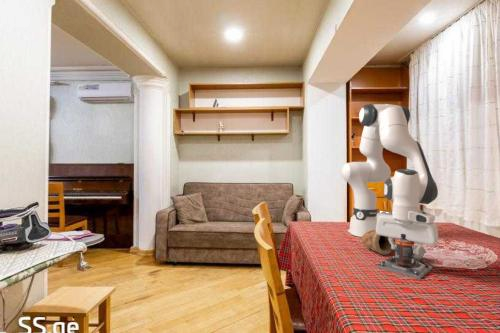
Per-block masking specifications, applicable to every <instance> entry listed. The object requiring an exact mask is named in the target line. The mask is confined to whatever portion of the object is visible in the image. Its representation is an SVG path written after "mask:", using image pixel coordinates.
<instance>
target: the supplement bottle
mask: <svg viewBox="0 0 500 333" xmlns="http://www.w3.org/2000/svg"><path fill="white" fill-rule="evenodd" d="M401 237H402V238H399V239H397V238H395V244H396V250H395V255H394V256H395V261H396V263H397V264H399V265H403V266H412V265H413V264H414V254H413V249H414V247H415V242H413V241H409V240H407V239H406V234H401Z"/></svg>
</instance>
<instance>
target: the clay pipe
mask: <svg viewBox="0 0 500 333" xmlns="http://www.w3.org/2000/svg"><path fill="white" fill-rule="evenodd" d="M360 238H361V239H360V241H361V242H362V244H364V245H365V247H366V248H367V249H370V250H371V251H373V252H376V253H378V254H380V255H383V256H388V255H389V254H391V253H392V252H393V251H394V250H393V249H391V244H390V242H389V240H388V237H387V236H382V235H378V234H377V233H376V230H371V231H367V232H366V233H365V234H364V235H363V236H362V237H360ZM393 241H394V243H395V244H396V238H394V239H393Z"/></svg>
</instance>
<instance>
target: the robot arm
mask: <svg viewBox="0 0 500 333" xmlns="http://www.w3.org/2000/svg"><path fill="white" fill-rule="evenodd" d="M358 119H359V124H360V125H362V126H363V130H362V132H361V133H362V134H361V138H360V143H359V148H358V149H359V152H360V153H361V154H362V155H363V156H364V157H366V161H351V162H346V163H345V164H343V165H342V168H341V176H342V179H344V181H346V182H347V183H348V184H349V186H350V187H351V189H352V192H353V193H352V194H353V201H354V203H353V209H352V216H351V217H350V224H349V228H348V229H347V232H348V233H349V234H350V235H353V236H356V237H358V238H359V237H360V238H361V237H362V236H363V235H364V234H365V233H366V232H367V231H371V230H376V233H377V234H378V235H382V236H387V237H388V240H389V242H390V244H391V249H393V251H396V242H395V243H394V241H393V239H394V238H395V239H399V238H402V237H401V234H406V239H407V240H409V241H413V242H414V243H416V246H418V247H417V248H414V249H413V254H416V255H418V254H419V249H420V248H421V247H423V245H424V244H425V245H430V246H435V245H436V244H438V243H439V230H438V225H437V224H436V223H435V222H434V221H436V216H435V215H434V214H431V213H429V212H426V211H424V210H422V209H421V204H422V205H423V204H424V205H429V204H431V203H432V202H434V201H435V200H436V199H437V198H438V195H439V192H438V191H439V190H438V186H437V183H436V181H435V180H434V178H433V175H432V174H431V170H430V168H429V164H428V163H427V159H426V156H425V154H424V150H423V148H422V146H421V144H420V142H418V141H417V140H415V139H414V138H413V137H412V135H411V134H410V131H409V126H408V125H409V122H410V119H411V112H410V109H409V107H407V106H405V105H397V104H389V103H384V104H383V103H381V104H380V103H375V104H374V103H373V104H372V103H367V104H364V105H363V106H362V107H361V108H360V111H359V113H358ZM384 148H385V150H387V151H390V152H392V153H395V154H398V155H401V156H402V157H405V158H408V159H409V160H410V162H411V163H412V165H413V168H414V169H411V168H410V169H408V168H401V169H396V170H395V171H394V175H393V176H392V177H391V175H392V174H391V172H392V170H391V167H390V166H389V164H387V163H386V161H385V159H384V156H383V151H384V150H383V149H384ZM382 182H383V196H384V197H385V198H386V199H387V200H388V201H391V202H392V206H391V207H392V209H391V210H392V211H385V210H380V209H379V208H377V198H378V197H377V194H376V193H375V191H373V190H372V189H370V188H369V187H368V184H367V183H382Z"/></svg>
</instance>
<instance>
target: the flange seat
mask: <svg viewBox="0 0 500 333" xmlns="http://www.w3.org/2000/svg"><path fill="white" fill-rule="evenodd" d="M417 247H418V245H414V248H417ZM425 253H426V254H427V251H426V249H425V248H424V247H423V246H421V248H420V249H419V254H418V255H416V254H414V264H413V265H412V266H403V265H399V264H397V263H396V261H395V255H392V256H390V257H388V258H387V259H385V260H384V261H382V262H380V263H378V264H377V266H376V268H378V269H382V270H384V271H388V272H392V273H396V274H400V275H403V276H408V277H411V278H415V279H417V280H421V279H422V278H423V277H425V275H427V274H428V273H429V272H430V271H431V270H432V269H433V266H432V265H430V264H429V263H426V262H424V264H423V263H422V262H421V260H422V259H424V258H423V256H424V254H425Z"/></svg>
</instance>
